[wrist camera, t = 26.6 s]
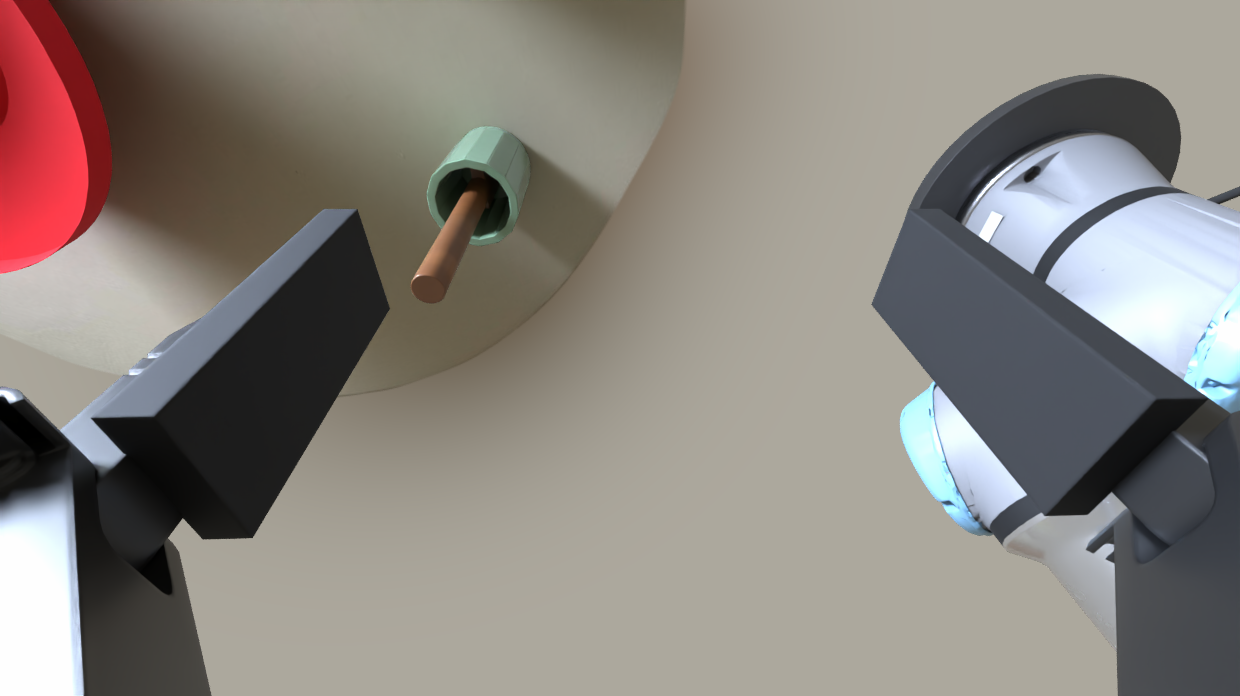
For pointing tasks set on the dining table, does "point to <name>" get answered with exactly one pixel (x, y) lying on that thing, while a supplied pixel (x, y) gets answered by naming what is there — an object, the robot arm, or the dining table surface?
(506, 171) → the crock
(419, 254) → the dining table surface
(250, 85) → the dining table surface
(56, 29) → the bowl
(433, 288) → the stick
